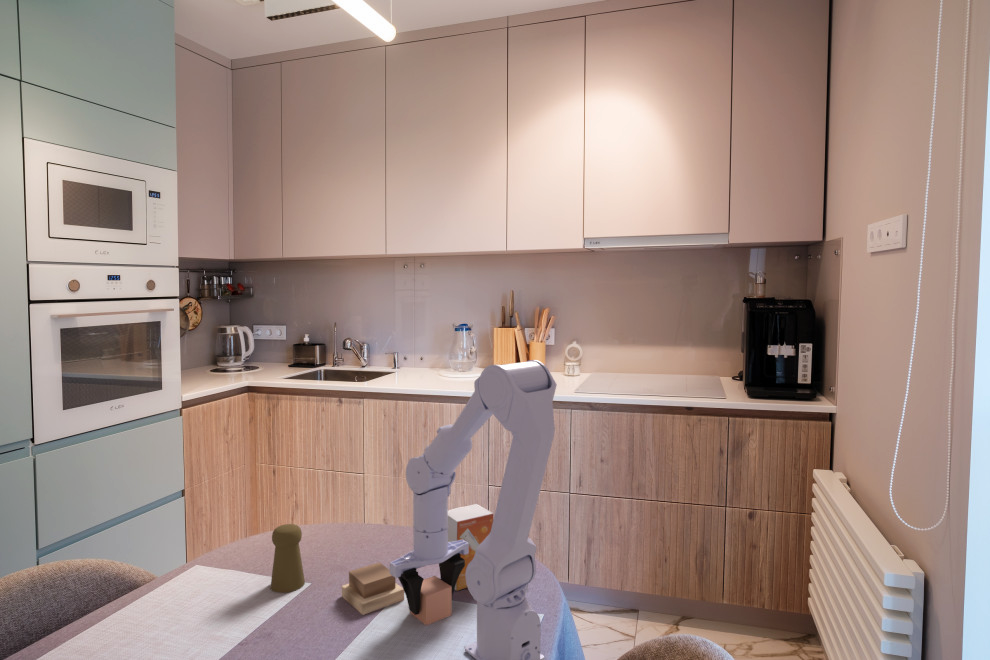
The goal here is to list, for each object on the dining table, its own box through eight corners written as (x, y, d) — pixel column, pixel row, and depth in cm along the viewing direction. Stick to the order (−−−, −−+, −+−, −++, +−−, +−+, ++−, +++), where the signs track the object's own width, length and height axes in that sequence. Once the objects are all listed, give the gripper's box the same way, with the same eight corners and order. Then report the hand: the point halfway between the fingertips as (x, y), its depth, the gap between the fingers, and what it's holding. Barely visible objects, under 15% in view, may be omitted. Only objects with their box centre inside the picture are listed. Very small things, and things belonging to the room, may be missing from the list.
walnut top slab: (395, 588, 106) (395, 574, 106) (364, 598, 102) (364, 584, 102) (379, 575, 110) (379, 562, 110) (349, 585, 107) (348, 571, 107)
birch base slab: (404, 602, 106) (404, 589, 105) (362, 618, 101) (362, 603, 100) (381, 585, 112) (381, 572, 112) (341, 599, 107) (341, 585, 107)
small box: (456, 592, 108) (456, 521, 108) (439, 578, 114) (439, 510, 113) (493, 580, 113) (494, 512, 112) (476, 567, 118) (476, 502, 117)
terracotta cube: (451, 615, 101) (451, 586, 100) (426, 625, 97) (426, 595, 97) (434, 603, 104) (434, 575, 104) (410, 613, 101) (410, 584, 101)
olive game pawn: (262, 588, 109) (261, 529, 109) (288, 574, 115) (287, 518, 114) (286, 595, 107) (285, 535, 106) (311, 581, 112) (311, 523, 111)
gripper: (452, 509, 108) (452, 583, 108) (380, 529, 99) (380, 609, 99) (476, 521, 102) (476, 598, 103) (402, 543, 93) (402, 628, 94)
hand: (430, 605), depth 101 cm, fingers open, 6 cm apart
